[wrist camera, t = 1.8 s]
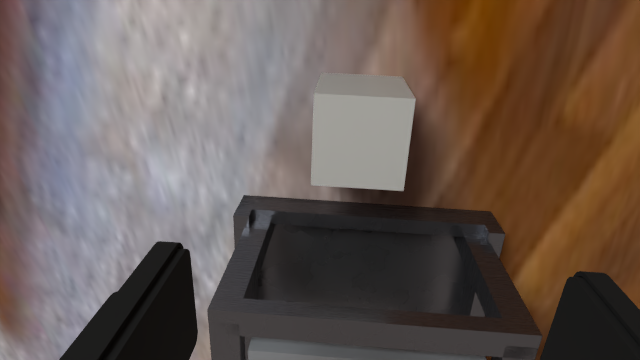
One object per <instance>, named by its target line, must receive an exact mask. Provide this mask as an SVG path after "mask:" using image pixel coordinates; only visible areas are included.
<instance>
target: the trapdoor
mask: <svg viewBox="0 0 640 360" xmlns="http://www.w3.org/2000/svg"><path fill="white" fill-rule="evenodd" d="M248 360H486V357H485V356H480V355H468V354H455V353H443V352H431V351H418V350H406V349H394V348H381V347H369V346H357V345H344V344H332V343H319V342H307V341H295V340H282V339H270V338H258V337H252V338H251V342H250V345H249V349H248Z"/></svg>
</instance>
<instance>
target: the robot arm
mask: <svg viewBox="0 0 640 360" xmlns="http://www.w3.org/2000/svg"><path fill="white" fill-rule="evenodd" d="M197 334H198V330H197V319H196V309H195V299H194V289H193V279H192V268H191V258H190V252H189V250H188V249H183V246H182V244H181V243H175V242H161V241H159V242H157V243H156V244H155V245H154V246H153V247H152V248H151V250H150V251H149V252H148V254H147V255H146V256H145V257H144V259H143V260H142V261H141V263H140V264H139V265H138V266H137V268H136V269H135V270H134V272H133V273H132V274H131V275H130V277H129V278H128V279H127V281H126V282H125V283H124V284H123V286H122V287H121V288H120V290H119V291H117V292H115V293H113V294H112V295H111V296H110V297H109V298H108V299H107V300H106V302H105V303H104V304H103V305H102V307H101V308H100V309H99V310H98V312H97V313H96V314H95V315H94V317H93V318H92V319H91V320H90V322H89V323H88V324H87V326H86V327H85V328H84V329H83V331H82V332H81V333H80V334H79V336H78V337H77V338H76V339H75V341H74V342H73V343H72V344H71V346H70V347H69V348H68V349H67V351H66V352H65V353H64V354H63V356H62V357H61V358H60V360H189V359H190V356H191V354H192V352H193V350H194V347H195V345H196V341H197ZM540 360H640V310H639V309H638V308H637V306H636V305H635V304H634V303H633V302H632V301H631V300H630V299H629V298H628V297H627V296H626V294H625V293H624V292H623V291H622V290H621V289H620V288H619V287H618V286H617V285H616V283H615V282H614V281H613V280H612V279H611V278H610V277H609V276H608V275H607V274H604V273H596V272H582V271H579V272H577V273H576V274H575V275H574V276H573V277H569V278H568V279H567V281H566V283H565V286H564V289H563V292H562V295H561V298H560V301H559V304H558V307H557V310H556V313H555V316H554V319H553V322H552V325H551V328H550V331H549V334H548V337H547V340H546V343H545V346H544V349H543V352H542V355H541V358H540Z"/></svg>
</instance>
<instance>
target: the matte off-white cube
mask: <svg viewBox="0 0 640 360" xmlns="http://www.w3.org/2000/svg"><path fill="white" fill-rule="evenodd" d="M415 101H416V99H415V97H414V95H413V94H412V92H411V90H410V89H409V87H408V85H407V84H406V82H405V81H404V79H403V77H396V76H377V75H357V74H338V73H321V75H320V78H319V81H318V84H317V86H316V89H315V92H314V107H313V136H312V166H311V185H316V186H331V187H347V188H363V189H378V190H394V191H404V184H405V176H406V169H407V161H408V154H409V146H410V138H411V131H412V123H413V116H414V108H415Z"/></svg>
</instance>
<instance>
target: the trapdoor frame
mask: <svg viewBox="0 0 640 360" xmlns="http://www.w3.org/2000/svg"><path fill="white" fill-rule="evenodd" d="M233 218H234V239H235V250H234V252H233V254H232V257H231V259H230V261H229V263H228V265H227V268H226V270H225V272H224V274H223V277H222V279H221V281H220V283H219V285H218V288H217V290H216V292H215V294H214V296H213V299H212V301H211V303H210V305H209V307H208V321H209V333H210V345H211V357H212V360H248V349H249V345H250V342H251V338H252V337H258V338H270V339H282V340H295V341H307V342H319V343H332V344H344V345H357V346H369V347H381V348H394V349H406V350H418V351H431V352H443V353H455V354H468V355H480V356H492V359H491V360H535V357H536V354H537V351H538V348H539V345H540V342H541V339H542V334H541V332H540V331H539V329H538V327H537V325H536V324H535V322H534V320H533V318H532V316H531V315H530V313H529V311H528V309H527V307H526V306H525V304H524V302H523V300H522V298H521V297H520V295H519V293H518V291H517V290H516V288H515V286H514V284H513V282H512V281H511V279H510V277H509V275H508V273H507V272H506V270H505V268H504V266H503V264H502V263H501V261H500V259H499V257H500V253H501V249H502V245H503V241H504V237H505V233H504V231H503V230H502V228H501V227H500V225H499V223H498V222H497V220H496V219H495V217H494V216H493V214H492V213H491V212H488V211H473V210H458V209H443V208H428V207H413V206H397V205H382V204H367V203H352V202H337V201H322V200H307V199H292V198H277V197H261V196H246V195H244V196H243V198H242V200H241V202H240V204H239V206H238V208H237V210H236V211H235V213H234V215H233ZM485 316H486V317H485Z"/></svg>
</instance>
